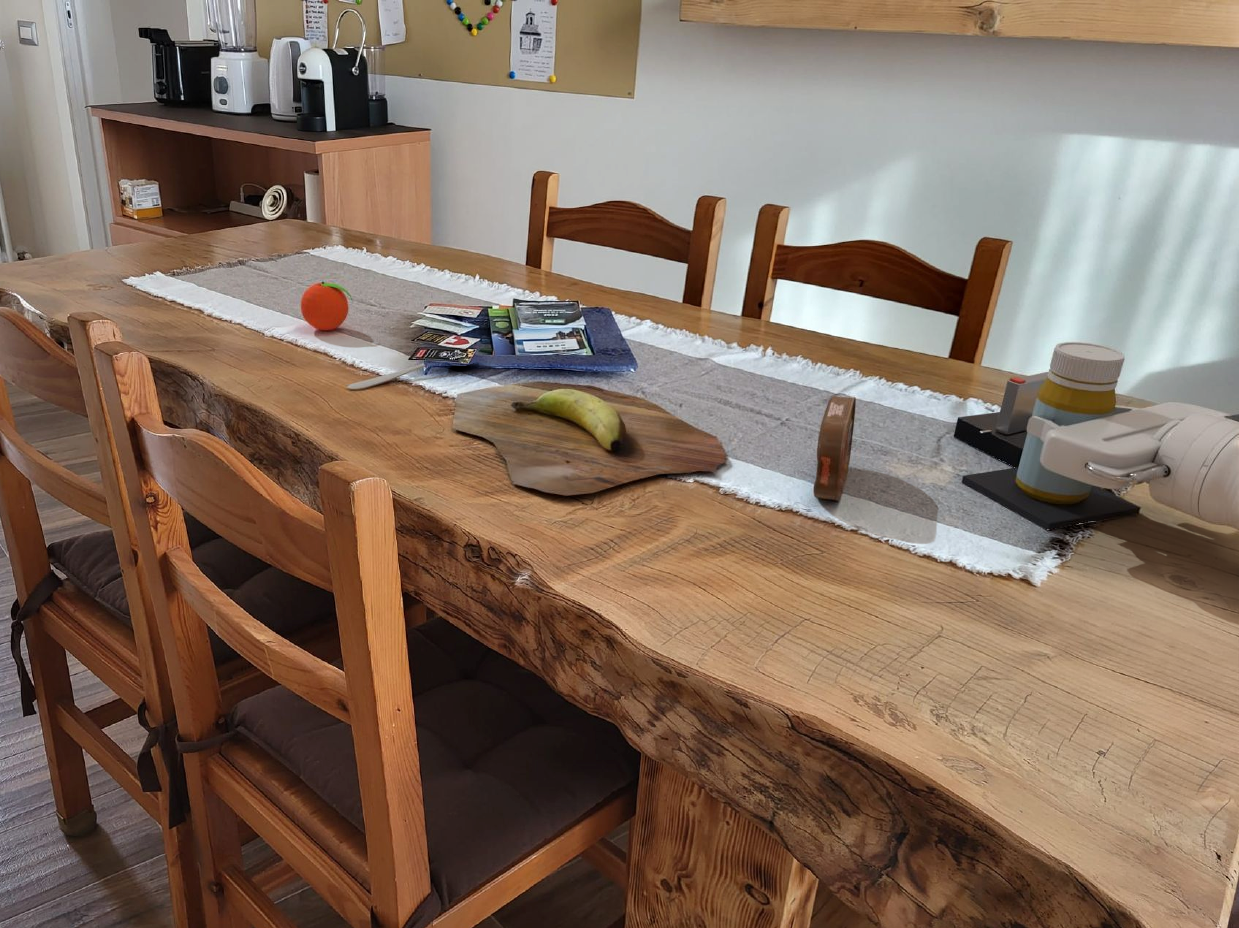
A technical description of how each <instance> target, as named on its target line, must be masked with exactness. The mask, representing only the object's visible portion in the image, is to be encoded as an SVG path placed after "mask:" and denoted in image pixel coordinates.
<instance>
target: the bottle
mask: <svg viewBox="0 0 1239 928" xmlns="http://www.w3.org/2000/svg"><path fill="white" fill-rule="evenodd" d="M1125 358H1126V357H1125V354H1124V353H1123V352H1121V350H1118V349H1116V348H1112V347H1110V346H1106V345H1101V344H1096V343H1090V342H1082V341H1066V342H1060V343H1057V344H1056V345H1055V347H1054V349H1053V352H1052V356H1051V359H1050V362H1049V363H1050V364H1049V369H1048V371H1047V372H1048V378H1047V379H1046V381H1045V382H1044V383H1043V385H1042V386H1041V388H1040V389H1039V392H1038V395H1037V399H1036V402H1035V406H1034V410H1033V414H1032V417H1034V416H1039V415H1045V416H1046V417H1050V418H1053V419H1055V421H1054V423H1055V424H1057V425H1058V426H1069V425H1073V424H1078V423H1082V422H1086V421H1090V420H1095V419H1099V418H1103V417H1108V416H1112V415H1113V413H1114V410H1115V406H1116V405H1117V396H1116V388H1117V385H1118V383H1119V378H1120V376H1121V372H1122V369H1123V366H1124V362H1125V360H1126V359H1125ZM1043 443H1044V442H1043V441H1042V440H1041V439H1040V438H1038V437H1036V436H1033V435H1030V434H1029V433H1027V437H1026V441H1025V445H1024V448H1023V452H1022V456H1021V460H1020V464H1019V468H1018V471H1017V477H1016V483H1017V485H1018V486H1019V488H1020V490H1021V491H1022V492H1023V493H1025V494H1026V495H1028V496H1030V497H1032V498H1034V499H1038V500H1040V501H1044V502H1049V503H1053V504H1074V503H1078V502H1080V501H1082V500H1083V499H1085V498H1086V497H1088V496H1089V493H1090V490H1091V487H1092V485H1090V484H1087V483H1084V482H1080V481H1077V480H1074V479H1071V478H1068V477H1066V476H1063V475H1060V474H1057V473H1054V472H1052V471H1049V470H1047V469H1045V468H1044V467H1043V466H1042V464H1041V463H1040V455H1041V451H1042V447H1043Z"/></svg>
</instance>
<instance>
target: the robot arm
mask: <svg viewBox="0 0 1239 928" xmlns="http://www.w3.org/2000/svg"><path fill="white" fill-rule="evenodd" d="M1054 421H1055V419H1053V418H1050V417H1046V416H1045V415H1039V416H1034V417H1031V418H1030V419H1029V421H1028V425H1027V432H1028V433H1029V434H1030V435H1033V436H1036V437H1038V438H1040V439H1041V440H1042V441H1043V442H1044V443H1043V447H1042V451H1041V455H1040V463H1041V464H1042V466H1043V467H1044V468H1045V469H1047V470H1049V471H1052V472H1054V473H1057V474H1060V475H1063V476H1066V477H1068V478H1071V479H1074V480H1077V481H1080V482H1084V483H1087V484H1090V485H1093V486H1097V487H1100V488H1102V489H1108V490H1119V489H1125V488H1127V487H1131V486H1138V485H1141V484H1143V483H1146V485H1147V484H1148V490H1149V494H1150V496H1151V498H1152V500H1153V501H1154V502H1156V503H1158V504H1161V505H1163V506H1166V507H1168V508H1170V509H1173V510H1175V511H1178V512H1181V513H1182V514H1185V515H1188V516H1189V517H1190V516H1191V517H1193V518H1195V519H1198V520H1201V521H1203V522H1206V523H1208V524H1212V525H1217V526H1225V527H1230V528H1232V529H1235V530H1238V531H1239V413H1237V414H1229V413H1228V412H1224V411H1221V410H1216V409H1213V408H1212V409H1211V408H1209V407H1204V406H1199V405H1195V404H1191V403H1187V402H1178V401H1177V402H1174V401H1173V402H1171V401H1168V402H1162V403H1160V404H1155V405H1151V406H1147V407H1142V408H1140V407H1134V406H1126V405H1125V406H1124V405H1117V404H1116V405H1115V410H1114V413H1113V415H1112V416H1108V417H1103V418H1099V419H1095V420H1090V421H1086V422H1082V423H1078V424H1073V425H1069V426H1058V425H1057V424H1055V423H1054Z"/></svg>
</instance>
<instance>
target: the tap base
mask: <svg viewBox="0 0 1239 928" xmlns="http://www.w3.org/2000/svg"><path fill="white" fill-rule="evenodd" d="M983 409H984V410H987V411H989V412H990V413H982V414H980V413H979V414H973V415H966V416H958V417H957V420H956V425H955V427H954V433H953V438H954V439H957V440H959V441H960V442H963V443H965V442H966V443H965V444H967V443H968V444H967V445H969V446H971V445H972V446H973V447H972V446H971V447H972V448H974V447H975V449H976V448H978V449H979V450H978V449H977V450H978V451H980V450H981V451H980V452H982V451H984V452H985V453H984V452H983V453H984V454H986V453H988V454H989V455H988V454H987V455H988V456H990V455H991V456H990V457H992V456H994V457H995V458H994V457H993V458H994V459H996V458H997V459H996V460H998V459H1000V460H1001V461H1000V460H999V461H1000V462H1002V461H1004V462H1006V463H1007V464H1006V463H1005V464H1006V465H1008V464H1010V465H1012V466H1013V467H1015V468H1017V467H1019V464H1020V460H1021V456H1022V452H1023V448H1024V445H1025V441H1026V437H1027V433H1028V432H1027V430H1025V431H1021V432H1017V433H1013V434H1009V435H1006V434H1003V433H1000V432H998V431H996V430H995V429H996V425H997V421H998V417H999V413H1000V411H997V412H995V409H992V408H990V407H988V406H983ZM1004 462H1003V463H1004ZM1013 467H1012V468H1013Z"/></svg>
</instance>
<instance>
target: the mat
mask: <svg viewBox="0 0 1239 928" xmlns="http://www.w3.org/2000/svg"><path fill="white" fill-rule="evenodd" d="M1018 468H1019V467H1017V468H1013V467H1012V468H1004V469H998V470H991V471H985V472H984V471H983V472H978V473H969V474H965V475H964V474H963V475H962V478H961V483H962V484H964V483H965V484H964V485H966V486H968V487H969V486H970V487H969V488H971V487H972V488H971V489H973V490H975V491H977V492H978V491H979V492H978V493H980V492H981V493H980V494H982V495H984V494H985V495H986V497H987V496H988V497H987V498H989V497H990V498H989V499H991V500H992V501H994V500H995V501H994V502H997V503H998V504H1000V505H1001V506H1003V505H1004V507H1005V508H1007V507H1008V508H1007V509H1008V510H1010V511H1012V510H1013V511H1012V512H1013V513H1016V514H1018V515H1019V516H1021V517H1023V518H1024V519H1027V520H1028V519H1029V520H1028V521H1030V522H1032V523H1034V524H1035V525H1037V524H1038V525H1037V526H1039V527H1041V526H1042V527H1041V528H1043V529H1044V528H1045V530H1046V529H1049V530H1048V531H1051V530H1050V529H1053V530H1056V529H1055V528H1059V529H1062V528H1061V527H1065V526H1069V525H1072V524H1079V523H1085V522H1088V521H1098V522H1104V521H1108V520H1114V519H1119V518H1125V517H1131V516H1136V515H1139V514H1140V512H1141V509H1142V507H1141V506H1139V505H1137V504H1135V503H1133V502H1131V501H1129V500H1127V499H1125V498H1123V497H1121V496H1119V495H1117V494H1115V493H1113V492H1111V491H1108V490H1106V489H1105V488H1101V487H1097V486H1093V485H1092V487H1091V490H1090V493H1089V496H1088V497H1086V498H1085V499H1083V500H1082V501H1080V502H1078V503H1074V504H1053V503H1049V502H1044V501H1040V500H1038V499H1034V498H1032V497H1030V496H1028V495H1026V494H1025V493H1023V492H1022V491H1021V490H1020V488H1019V486H1018V485H1017V483H1016V477H1017V471H1018ZM985 495H984V496H985ZM1065 528H1066V527H1065Z"/></svg>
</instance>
